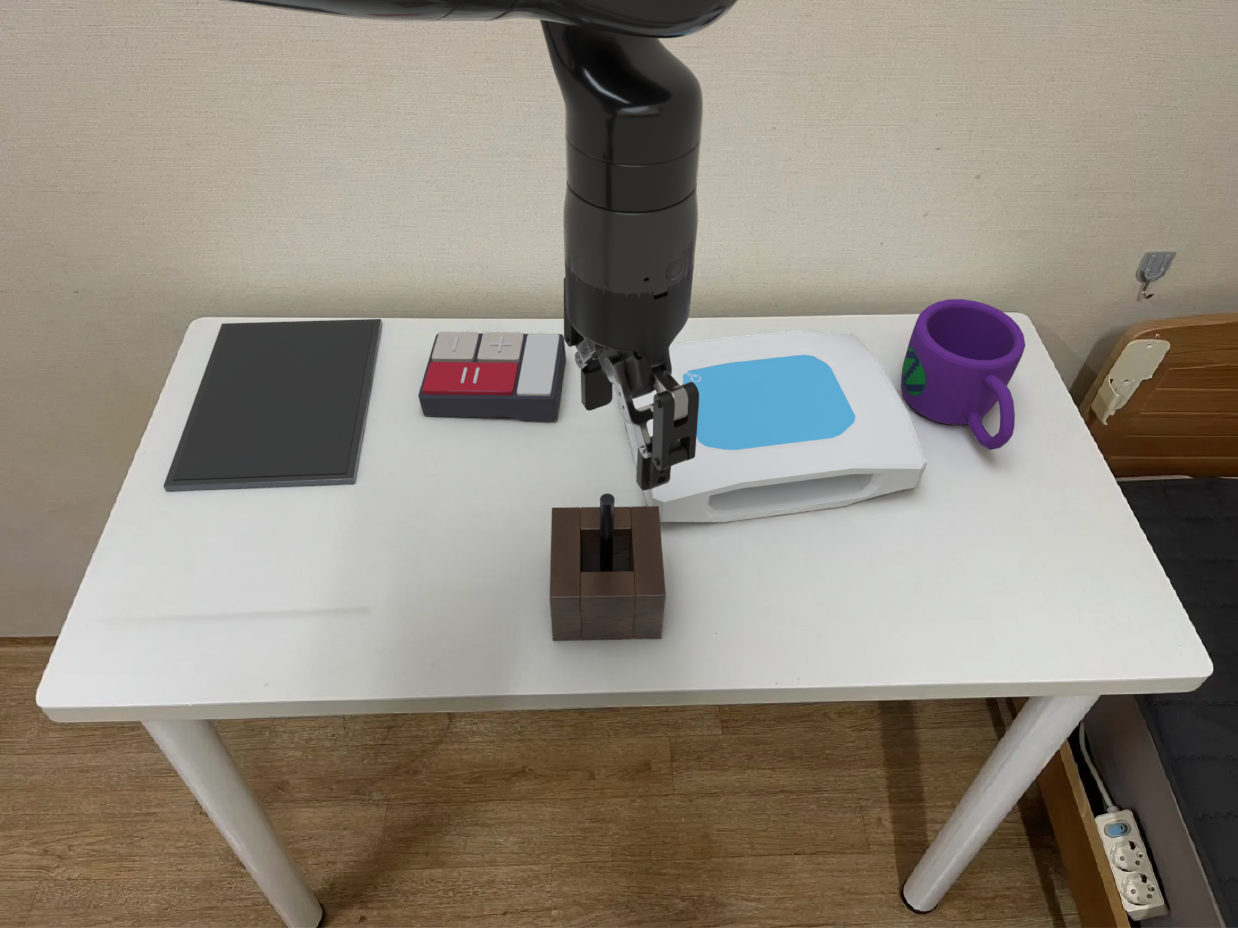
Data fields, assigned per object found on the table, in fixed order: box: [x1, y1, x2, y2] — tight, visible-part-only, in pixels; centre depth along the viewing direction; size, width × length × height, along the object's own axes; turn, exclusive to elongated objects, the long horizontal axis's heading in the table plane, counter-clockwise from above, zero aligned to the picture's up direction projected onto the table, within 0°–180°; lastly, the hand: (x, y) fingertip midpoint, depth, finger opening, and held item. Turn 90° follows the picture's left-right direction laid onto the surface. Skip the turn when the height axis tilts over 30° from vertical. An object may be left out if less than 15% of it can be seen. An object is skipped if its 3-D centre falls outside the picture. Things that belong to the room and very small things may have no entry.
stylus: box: [599, 493, 616, 572], centre depth 78 cm, size 1×1×14 cm
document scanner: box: [624, 329, 928, 523], centre depth 95 cm, size 21×28×6 cm
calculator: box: [417, 331, 567, 423], centre depth 100 cm, size 11×4×15 cm
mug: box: [900, 298, 1026, 451], centre depth 96 cm, size 17×11×10 cm, turn 11°
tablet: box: [163, 318, 383, 492], centre depth 99 cm, size 26×19×1 cm
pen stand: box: [549, 505, 667, 642], centre depth 81 cm, size 10×10×7 cm
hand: (623, 442), depth 63 cm, fingers open, 8 cm apart
